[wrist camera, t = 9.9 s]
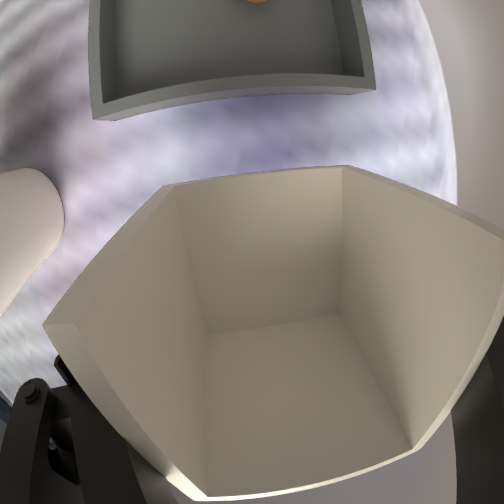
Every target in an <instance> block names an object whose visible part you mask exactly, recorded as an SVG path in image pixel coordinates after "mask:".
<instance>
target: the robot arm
mask: <svg viewBox="0 0 504 504" xmlns="http://www.w3.org/2000/svg"><path fill="white" fill-rule="evenodd" d="M54 366H55V368H56V369H57V371H58V372H59V374H60V375H61V376H62V378H63V379H64V381H65V382H66V383H67V385H65V386H61V387H56V388H52V389H51V388H50V387H49V385H48V384H47V383H46V382H45V381H44V380H43V379H40V378H34V379H30V380H28V381H26V382H25V383H24V384H23V385H22V386H21V387H20V388H19V390H18V392H17V394H16V397H15V400H14V403H13V407H12V410H11V413H10V416H9V420H8V423H7V427H6V431H5V435H4V439H3V443H2V448H1V452H0V504H178V502H177V500H176V498H175V496H174V494H173V492H172V490H171V488H170V486H169V484H168V481H167V479H166V477H164V476H163V475H162V474H161V473H160V472H159V471H158V470H156V469H155V468H154V467H153V466H152V465H151V464H150V463H149V462H148V461H147V460H146V459H145V458H144V457H143V456H141V455H140V454H139V453H138V452H137V451H136V450H135V449H134V448H133V447H132V446H131V444H130V443H129V442H128V441H127V440H126V439H125V438H123V437H122V436H121V435H120V434H119V433H118V432H117V431H116V430H115V428H114V427H113V426H112V425H111V424H110V423H109V422H108V420H107V419H106V418H105V417H104V416H103V414H102V413H101V412H100V411H99V410H98V408H97V407H96V406H95V405H94V403H93V402H92V401H91V400H90V398H89V397H88V396H87V394H86V393H85V392H84V390H83V389H82V388H81V386H80V385H79V383H78V382H77V381H76V379H75V378H74V376H73V375H72V373H71V372H70V370H69V369H68V367H67V366H66V364H65V363H64V361H63V360H62V358H61V357H60V355H59V354H58V356H57V357H56V359H55V362H54ZM451 415H452V422H453V430H454V440H455V451H456V468H457V502H456V504H504V316H503V318H502V321H501V323H500V325H499V328H498V330H497V332H496V334H495V336H494V338H493V341H492V343H491V345H490V347H489V349H488V351H487V353H485V355H484V357H483V359H482V361H481V363H480V365H479V366H478V368H477V370H476V372H475V373H474V375H473V377H472V378H471V380H470V382H469V383H468V385H467V387H466V388H465V390H464V391H463V393H462V394H461V396H460V397H459V399H458V400H457V402H456V403H455V405H454V406H453V408H452V409H451ZM49 440H51V441H52V442H53V444H52V447H51V448H49V447H48V446H49Z"/></svg>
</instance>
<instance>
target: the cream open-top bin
mask: <svg viewBox="0 0 504 504" xmlns="http://www.w3.org/2000/svg"><path fill="white" fill-rule="evenodd" d="M503 316H504V230H503V229H502V228H500V227H498V226H496V225H494V224H492V223H490V222H488V221H487V220H485V219H483V218H481V217H479V216H477V215H474V214H473V213H470V212H468V211H466V210H464V209H462V208H460V207H458V206H456V205H453V204H451V203H449V202H447V201H445V200H442V199H440V198H438V197H435V196H433V195H431V194H428V193H426V192H423V191H421V190H418V189H416V188H413V187H411V186H408V185H405V184H403V183H400V182H397V181H395V180H392V179H389V178H386V177H384V176H381V175H378V174H375V173H372V172H369V171H366V170H363V169H360V168H357V167H354V166H350V165H334V166H317V167H303V168H291V169H280V170H270V171H261V172H252V173H244V174H236V175H228V176H221V177H214V178H207V179H201V180H194V181H188V182H182V183H176V184H171V185H165V186H162V187H161V188H160V189H159V190H158V191H157V192H156V193H155V194H154V195H153V196H152V197H151V198H150V199H149V200H148V201H147V202H146V203H144V204H143V205H142V206H141V207H140V209H139V210H138V211H137V212H136V213H135V214H134V215H133V216H132V217H131V218H130V219H129V220H128V221H127V222H126V223H125V224H124V225H123V226H122V227H121V228H120V229H119V230H118V231H117V233H116V234H115V235H114V236H113V237H112V238H111V239H110V240H109V241H108V242H107V244H106V245H105V246H104V247H103V248H102V249H101V250H100V251H99V253H98V254H97V255H96V256H95V257H94V258H93V260H92V261H91V262H90V263H89V264H88V266H87V267H86V268H85V269H84V270H83V272H82V273H81V274H80V275H79V276H78V278H77V279H76V280H75V281H74V283H73V284H72V285H71V286H70V288H69V289H68V290H67V292H66V293H65V294H64V296H63V297H62V298H61V299H60V301H59V302H58V303H57V305H56V306H55V308H54V309H53V310H52V312H51V313H50V314H49V316H48V317H47V319H46V320H45V321H44V323H43V324H42V326H43V327H44V329H45V331H46V333H47V335H48V336H49V338H50V340H51V342H52V343H53V345H54V347H55V348H56V350H57V352H58V353H59V355H60V357H61V358H62V360H63V361H64V363H65V364H66V366H67V367H68V369H69V370H70V372H71V373H72V375H73V376H74V378H75V379H76V381H77V382H78V383H79V385H80V386H81V388H82V389H83V390H84V392H85V393H86V394H87V396H88V397H89V398H90V400H91V401H92V402H93V403H94V405H95V406H96V407H97V408H98V410H99V411H100V412H101V413H102V414H103V416H104V417H105V418H106V419H107V420H108V422H109V423H110V424H111V425H112V426H113V427H114V428H115V430H116V431H117V432H118V433H119V434H120V435H121V436H122V437H123V438H125V439H126V440H127V441H128V442H129V443H130V444H131V446H132V447H133V448H134V449H135V450H136V451H137V452H138V453H139V454H140V455H141V456H143V457H144V458H145V459H146V460H147V461H148V462H149V463H150V464H151V465H152V466H153V467H154V468H155V469H156V470H158V471H159V472H160V473H161V474H162V475H163V476H164V477H166V479H167V480H168V481H169V482H171V483H172V484H173V485H174V486H176V487H177V488H178V489H179V490H181V491H182V492H183V493H184V494H186V495H187V496H188V497H190V498H191V499H192V500H194V501H221V500H239V499H250V498H259V497H267V496H274V495H280V494H286V493H291V492H297V491H301V490H306V489H311V488H315V487H319V486H322V485H326V484H331V483H334V482H338V481H341V480H344V479H348V478H351V477H353V476H357V475H359V474H363V473H365V472H368V471H371V470H374V469H376V468H379V467H381V466H384V465H386V464H389V463H391V462H394V461H396V460H398V459H400V458H403V457H405V456H407V455H409V454H411V453H413V452H415V451H417V450H419V449H421V448H422V446H423V445H424V444H425V443H426V442H427V441H428V439H429V438H430V437H431V436H432V435H433V433H434V432H435V431H436V430H437V428H438V427H439V426H440V425H441V423H442V422H443V421H444V419H445V418H446V417H447V415H448V414H449V413H450V411H451V409H452V408H453V406H454V405H455V403H456V402H457V400H458V399H459V397H460V396H461V394H462V393H463V391H464V390H465V388H466V387H467V385H468V383H469V382H470V380H471V378H472V377H473V375H474V373H475V372H476V370H477V368H478V366H479V365H480V363H481V361H482V359H483V357H484V355H485V353H487V351H488V349H489V347H490V345H491V343H492V341H493V338H494V336H495V334H496V332H497V330H498V328H499V325H500V323H501V321H502V318H503Z"/></svg>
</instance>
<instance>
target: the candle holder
mask: <svg viewBox="0 0 504 504" xmlns="http://www.w3.org/2000/svg"><path fill="white" fill-rule="evenodd" d="M63 228H64V212H63V206H62V202H61V199H60V196H59V193H58V191H57V189H56V188H55V186H54V184H53V183H52V182H51V180H50V179H49V178H48V177H47V176H46V175H45V174H43V173H42V172H40V171H38V170H36V169H32V168H21V169H16V170H11V171H7V172H2V173H0V317H1V315H2V314H3V313H4V311H5V310H6V309H7V307H8V306H9V304H10V303H11V302H12V301H13V299H14V298H15V297H16V295H17V294H18V293H19V291H20V290H21V289H22V288H23V286H24V285H25V284H26V283H27V282H28V280H29V279H30V278H31V277H32V276H33V274H34V273H35V272H36V271H37V270H38V269H39V267H40V266H41V265H42V264H43V263H44V262H45V261H46V259H47V258H48V257H49V256H50V255H51V254H52V252H53V251H54V250H55V249H56V247H57V246H58V244H59V242H60V240H61V237H62V234H63Z"/></svg>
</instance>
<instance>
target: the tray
mask: <svg viewBox="0 0 504 504" xmlns="http://www.w3.org/2000/svg"><path fill="white" fill-rule="evenodd" d="M88 61H89V83H90V96H91V107H92V116H93V120H108V121H116V120H120V119H123V118H127V117H131V116H135V115H139V114H143V113H147V112H151V111H156V110H160V109H165V108H170V107H175V106H180V105H186V104H191V103H197V102H204V101H211V100H218V99H226V98H235V97H245V96H258V95H274V94H344V95H352V94H357V93H362V92H367V91H373V90H376V82H375V74H374V67H373V60H372V53H371V47H370V42H369V36H368V31H367V26H366V21H365V17H364V12H363V8H362V4H361V0H268V1H265V2H261V3H254V2H249V1H246V0H90V7H89V27H88Z"/></svg>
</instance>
